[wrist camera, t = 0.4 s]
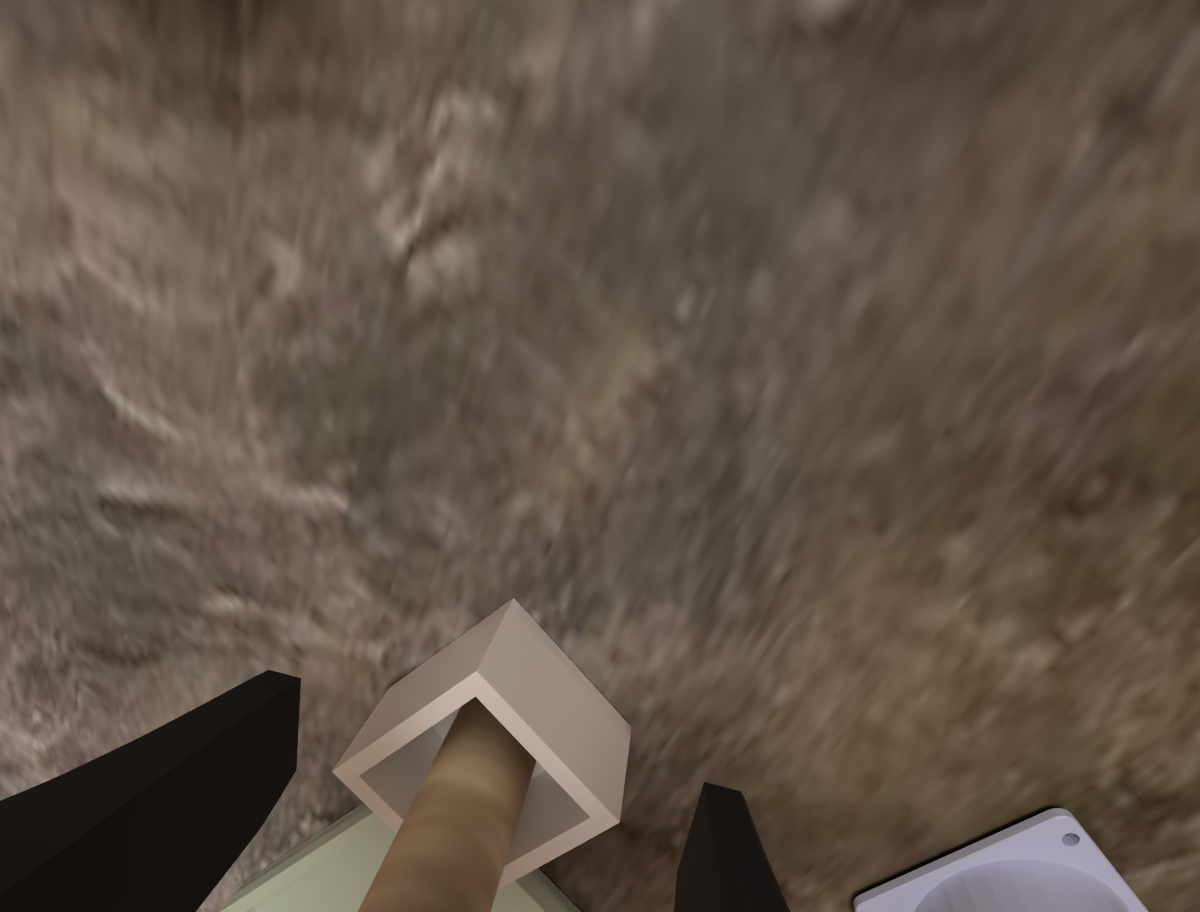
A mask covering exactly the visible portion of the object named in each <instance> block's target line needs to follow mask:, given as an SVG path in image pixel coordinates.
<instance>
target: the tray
mask: <svg viewBox="0 0 1200 912" xmlns="http://www.w3.org/2000/svg"><path fill="white" fill-rule="evenodd" d="M395 836H396V834H395V833H394V832H393V831H392V830H391V829H390V828H389V827H388V826H387V825H386V824H385V823H384V822H383V821H382V820H381V819H380V818H379V817H378V816H377V815H376V814H375V813H374V812H373V811H372V810H371V809H370V808H369V807H367V806H366V805H365V804H364V803H363V804H361V805H360V806H358V807H357V808H355V809H353V810H352V811H350V812H349V813H347V814H346V815H344V816H343V817H341V818H340V819H338V820H337V821H335V822H334V823H332V824H331V825H329V826H328V827H326V828H325V829H323V830H322V831H320V832H319V833H317V834H316V835H314V836H313V837H311V838H310V839H308V840H307V841H305V842H304V843H302V844H301V845H299V846H297V847H296V848H294V849H293V850H291V851H290V852H288V853H287V854H285V855H284V856H282V857H281V858H279V859H278V860H276V861H275V862H273V863H272V864H270V865H269V866H267V867H266V868H264V869H263V870H261V871H260V872H258V873H257V874H255V875H254V876H252V877H251V878H249V879H248V880H246V881H244V882H243V883H241V884H240V885H238V886H237V887H236V888H235V889H234V891H233V892H232V894H231V895H230V896H229V898H228V899H227V901H226V902H225V903H224V905H223V906H222V908H221V909H220V910H219V912H358V910H359V908H360V906H361V904H362V902H363V900H364V898H365V896H366V894H367V892H368V890H369V888H370V886H371V884H372V882H373V880H374V878H375V876H376V874H377V872H378V870H379V868H380V866H381V864H382V862H383V860H384V858H385V856H386V854H387V852H388V850H389V848H390V846H391V844H392V842H393V840H394V838H395ZM491 912H581V911H580V910H579V909H578V908H577V907H576V906H575V905H574V904H573V903H572V902H571V901H570V900H569V899H568V898H567V897H566V896H565V895H564V894H563V893H562V892H561V891H560V890H559V889H558V888H557V887H556V886H555V885H554V884H553V883H552V882H551V881H550V879H549V878H548V877H547V876H546V875H545V874H544V873H543V872H542V871H541V870H540V869H539V868H537V869H535V870H533V871H531V872H529V873H528V874H526V875H524V876H522V877H520V878H519V879H517V880H515V881H513V882H511V883H510V884H508V885H506V886H504V887H502V888H500V889H499V890H497V892H496V896H495V899H494V902H493V906H492V909H491Z"/></svg>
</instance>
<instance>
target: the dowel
mask: <svg viewBox="0 0 1200 912" xmlns="http://www.w3.org/2000/svg"><path fill="white" fill-rule="evenodd" d="M535 764H536V759H535V758H534V757H533V756H532V755H531V754H530V753H529V752H528V751H527V750H526V749H525V748H524V747H523V746H522V745H521V744H520V743H519V742H518V740H517V739H516V738H515V737H514V736H513V735H512V734H511V733H510V732H509V731H508V730H507V729H506V728H505V727H504V726H503V725H502V724H501V723H500V722H499V720H498V719H497V718H496V717H495V716H494V715H493V714H492V713H491V712H490V711H489V710H488V709H487V708H486V707H485V706H484V705H483V704H482V703H481V702H480V700H479V699H478V698H477V697H474V698H473V699H471V700H470V701H468V702H467V703H465V704H464V705H462V706H461V707H460V709H459V711H458V713H457V715H456V717H455V719H454V721H453V723H452V725H451V727H450V729H449V731H448V733H447V735H446V737H445V739H444V741H443V743H442V745H441V747H440V749H439V751H438V753H437V755H436V757H435V759H434V761H433V763H432V765H431V767H430V769H429V771H428V773H427V775H426V777H425V779H424V781H423V783H422V785H421V787H420V789H419V791H418V793H417V795H416V797H415V799H414V801H413V803H412V805H411V807H410V809H409V810H408V812H407V814H406V816H405V818H404V820H403V822H402V824H401V826H400V828H399V830H398V832H397V834H396V836H395V838H394V840H393V842H392V844H391V846H390V848H389V850H388V852H387V854H386V856H385V858H384V860H383V862H382V864H381V866H380V868H379V870H378V872H377V874H376V876H375V878H374V880H373V882H372V884H371V886H370V888H369V890H368V892H367V894H366V896H365V898H364V900H363V902H362V904H361V906H360V908H359V910H358V912H491V909H492V906H493V902H494V899H495V896H496V892H497V889H498V886H499V883H500V879H501V876H502V873H503V869H504V866H505V863H506V859H507V856H508V853H509V850H510V846H511V843H512V840H513V836H514V833H515V830H516V826H517V823H518V820H519V817H520V813H521V810H522V807H523V803H524V800H525V797H526V793H527V790H528V787H529V784H530V780H531V777H532V774H533V770H534V767H535Z"/></svg>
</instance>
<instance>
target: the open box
mask: <svg viewBox="0 0 1200 912" xmlns="http://www.w3.org/2000/svg"><path fill="white" fill-rule="evenodd" d="M474 697H477V698H478V699H479V700H480V702H481V703H482V704H483V705H484V706H485V707H486V708H487V709H488V710H489V711H490V712H491V713H492V714H493V715H494V716H495V717H496V718H497V719H498V720H499V722H500V723H501V724H502V725H503V726H504V727H505V728H506V729H507V730H508V731H509V732H510V733H511V734H512V735H513V736H514V737H515V738H516V739H517V740H518V742H519V743H520V744H521V745H522V746H523V747H524V748H525V749H526V750H527V751H528V752H529V753H530V754H531V755H532V756H533V757H534V758H535V759H536V764H535V767H534V770H533V774H532V777H531V780H530V784H529V787H528V790H527V793H526V797H525V800H524V803H523V807H522V810H521V813H520V817H519V820H518V823H517V826H516V830H515V833H514V836H513V840H512V843H511V846H510V850H509V853H508V856H507V859H506V863H505V866H504V869H503V873H502V876H501V879H500V883H499V886H498V889H497V890H499V889H500V888H502V887H504V886H506V885H508V884H510V883H511V882H513V881H515V880H517V879H519V878H520V877H522V876H524V875H526V874H528V873H529V872H531V871H533V870H535V869H537V868H538V867H540V866H542V865H544V864H546V863H548V862H549V861H551V860H553V859H555V858H557V857H558V856H560V855H562V854H564V853H566V852H567V851H569V850H571V849H573V848H575V847H576V846H578V845H580V844H582V843H584V842H586V841H587V840H589V839H591V838H593V837H595V836H596V835H598V834H600V833H602V832H604V831H605V830H607V829H609V828H611V827H613V826H614V825H616V824H618V823H620V816H621V808H622V800H623V792H624V784H625V776H626V768H627V760H628V752H629V744H630V736H631V728H632V727H631V726H630V725H629V724H628V723H627V722H626V721H625V720H624V719H623V717H622V716H621V715H620V714H619V713H618V712H617V711H616V710H615V709H614V708H613V706H612V705H611V704H610V703H609V702H608V701H607V700H606V699H605V698H604V697H603V695H602V694H601V693H600V692H599V691H598V690H597V689H596V688H595V687H594V686H593V684H592V683H591V682H590V681H589V680H588V679H587V678H586V677H585V676H584V675H583V673H582V672H581V671H580V670H579V669H578V668H577V667H576V666H575V665H574V664H573V662H572V661H571V660H570V659H569V658H568V657H567V656H566V655H565V654H564V653H563V651H562V650H561V649H560V648H559V647H558V646H557V645H556V644H555V643H554V642H553V640H552V639H551V638H550V637H549V636H548V635H547V634H546V633H545V632H544V631H543V629H542V628H541V627H540V626H539V625H538V624H537V623H536V622H535V621H534V620H533V618H532V617H531V616H530V615H529V614H528V613H527V612H526V611H525V610H524V609H523V607H522V606H521V605H520V604H519V603H518V602H517V601H516V600H515V599H514V598H513V599H511V600H510V601H509V602H507V603H506V604H504V605H503V606H502V607H500V608H499V609H498V610H496V611H495V612H493V613H492V614H491V615H489V616H488V617H487V618H485V619H484V620H482V621H481V622H480V623H478V624H477V625H475V626H474V627H473V628H471V629H470V630H469V631H467V632H466V633H464V634H463V635H462V636H460V637H459V638H458V639H456V640H455V641H453V642H452V643H451V644H449V645H448V646H446V647H445V648H444V649H442V650H441V651H440V652H438V653H437V654H435V655H434V656H433V657H431V658H430V659H429V660H427V661H426V662H424V663H423V664H422V665H420V666H419V667H418V668H416V669H415V670H413V671H412V672H411V673H409V674H408V675H406V676H405V677H404V678H402V679H401V680H400V681H398V682H397V683H395V684H394V685H393V686H391V687H390V688H389V689H388V691H387V692H386V693H385V695H384V696H383V698H382V699H381V701H380V702H379V704H378V705H377V707H376V708H375V709H374V711H373V712H372V714H371V715H370V717H369V718H368V720H367V721H366V722H365V724H364V725H363V727H362V728H361V730H360V731H359V733H358V734H357V736H356V737H355V738H354V740H353V741H352V743H351V744H350V746H349V747H348V749H347V750H346V752H345V753H344V754H343V756H342V757H341V759H340V760H339V762H338V763H337V765H336V766H335V767H334V769H333V770H332V772H333V773H334V774H335V775H336V776H337V777H338V778H339V779H340V780H341V781H342V782H343V783H344V784H345V785H346V786H347V787H348V788H349V789H350V790H351V791H352V792H353V793H354V794H355V795H356V796H357V797H358V798H359V799H360V800H361V801H362V802H363V803H364V804H365V805H366V806H367V807H369V808H370V809H371V810H372V811H373V812H374V813H375V814H376V815H377V816H378V817H379V818H380V819H381V820H382V821H383V822H384V823H385V824H386V825H387V826H388V827H389V828H390V829H391V830H392V831H393V832H394V833H395V834H397V832H398V830H399V828H400V826H401V824H402V822H403V820H404V818H405V816H406V814H407V812H408V810H409V809H410V807H411V805H412V803H413V801H414V799H415V797H416V795H417V793H418V791H419V789H420V787H421V785H422V783H423V781H424V779H425V777H426V775H427V773H428V771H429V769H430V767H431V765H432V763H433V761H434V759H435V757H436V755H437V753H438V751H439V749H440V747H441V745H442V743H443V741H444V739H445V737H446V735H447V733H448V731H449V729H450V727H451V725H452V723H453V721H454V719H455V717H456V715H457V713H458V711H459V709H460V707H461V706H462V705H464V704H465V703H467V702H468V701H470V700H471V699H473V698H474Z"/></svg>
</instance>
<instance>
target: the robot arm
mask: <svg viewBox="0 0 1200 912" xmlns="http://www.w3.org/2000/svg"><path fill="white" fill-rule="evenodd" d="M300 685H301V678H298V677H294V676H290V675H286V674H283V673H279V672H275V671H271V670H268V671H266V672H264V673H262V674H260V675H258V676H256V677H254V678H252V679H250V680H248V681H246V682H244V683H242V684H240V685H238V686H237V687H235V688H233V689H231V690H229V691H227V692H225V693H224V694H222V695H220V696H218V697H216V698H214V699H212V700H211V701H209V702H207V703H205V704H203V705H201V706H199V707H197V708H196V709H194V710H192V711H190V712H188V713H186V714H184V715H182V716H180V717H178V718H176V719H175V720H173V721H171V722H169V723H167V724H165V725H163V726H161V727H159V728H157V729H155V730H153V731H152V732H150V733H148V734H146V735H144V736H142V737H140V738H138V739H136V740H134V741H132V742H130V743H128V744H125V745H123V746H121V747H119V748H117V749H115V750H113V751H111V752H109V753H107V754H105V755H102V756H100V757H98V758H96V759H94V760H92V761H90V762H88V763H86V764H84V765H82V766H79V767H77V768H75V769H73V770H71V771H69V772H67V773H65V774H62V775H60V776H58V777H56V778H53V779H51V780H49V781H47V782H44V783H42V784H40V785H37V786H35V787H33V788H30V789H28V790H26V791H23V792H21V793H18V794H16V795H14V796H11V797H9V798H6V799H4V800H1V801H0V912H196V911H197V909H198V908H199V907H200V905H201V904H202V903H203V902H204V900H205V899H206V898H207V897H208V895H209V894H210V893H211V891H212V890H213V889H214V888H215V886H216V885H217V884H218V882H219V881H220V880H221V879H222V877H223V876H224V875H225V874H226V872H227V871H228V870H229V868H230V867H231V866H232V864H233V863H234V862H235V861H236V859H237V858H238V857H239V855H240V854H241V853H242V852H243V850H244V849H245V848H246V846H247V845H248V844H249V842H250V841H251V840H252V839H253V837H254V836H255V835H256V833H257V832H258V831H259V829H260V828H261V827H262V825H263V823H264V822H265V820H266V819H267V817H268V815H269V814H270V812H271V811H272V809H273V808H274V806H275V804H276V803H277V801H278V800H279V798H280V796H281V795H282V793H283V791H284V790H285V788H286V786H287V785H288V783H289V781H290V780H291V778H292V776H293V775H294V773H295V771H296V766H297V746H298V725H299V705H300ZM1069 833H1071V834H1069ZM1066 834H1069V835H1066ZM1064 835H1066V836H1064ZM854 910H855V912H1149V911H1148V910H1147V909H1146V907H1145V906H1144V905H1143V904H1142V902H1141V901H1140V900H1139V898H1138V897H1137V896H1136V895H1135V893H1134V892H1133V891H1132V890H1131V888H1130V887H1129V886H1128V884H1127V883H1126V882H1125V881H1124V879H1123V878H1122V877H1121V876H1120V874H1119V873H1118V872H1117V871H1116V869H1115V868H1114V867H1113V865H1112V864H1111V863H1110V862H1109V860H1108V859H1107V858H1106V857H1105V855H1104V854H1103V853H1102V852H1101V850H1100V849H1099V848H1098V846H1097V845H1096V844H1095V843H1094V841H1093V840H1092V839H1091V838H1090V836H1089V835H1088V834H1087V833H1086V831H1085V830H1084V829H1083V827H1082V826H1081V825H1080V824H1079V822H1078V821H1077V820H1076V819H1075V817H1074V816H1073V815H1072V814H1071V813H1070V812H1069V811H1068V810H1065V809H1062V808H1053V809H1049V810H1047V811H1045V812H1042V813H1040V814H1038V815H1036V816H1033V817H1031V818H1029V819H1027V820H1025V821H1022V822H1020V823H1018V824H1016V825H1013V826H1011V827H1009V828H1007V829H1005V830H1002V831H1000V832H998V833H996V834H993V835H991V836H989V837H987V838H985V839H982V840H980V841H978V842H976V843H973V844H971V845H969V846H967V847H965V848H962V849H960V850H958V851H956V852H953V853H951V854H949V855H947V856H945V857H942V858H940V859H938V860H936V861H933V862H931V863H929V864H927V865H925V866H922V867H920V868H918V869H916V870H913V871H911V872H909V873H907V874H905V875H902V876H900V877H898V878H896V879H893V880H891V881H889V882H887V883H885V884H882V885H880V886H878V887H876V888H873V889H871V890H869V891H867V892H865V893H862V894H860V895H859V896H857V897H856V898H855V900H854ZM674 912H790V910H789V908H788V905H787V903H786V901H785V899H784V897H783V894H782V892H781V890H780V888H779V885H778V883H777V881H776V878H775V876H774V874H773V871H772V869H771V866H770V864H769V861H768V859H767V856H766V854H765V852H764V849H763V847H762V844H761V841H760V839H759V836H758V834H757V831H756V828H755V826H754V823H753V820H752V817H751V815H750V812H749V809H748V806H747V803H746V800H745V798H744V796H743V795H742V793H741V792H740V791H737V790H733V789H729V788H725V787H721V786H718V785H714V784H710V783H706V782H704V784H703V788H702V791H701V794H700V798H699V801H698V805H697V808H696V811H695V815H694V818H693V821H692V825H691V828H690V831H689V835H688V838H687V841H686V845H685V848H684V852H683V855H682V858H681V862H680V865H679V868H678V872H677V882H676V894H675V906H674Z"/></svg>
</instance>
